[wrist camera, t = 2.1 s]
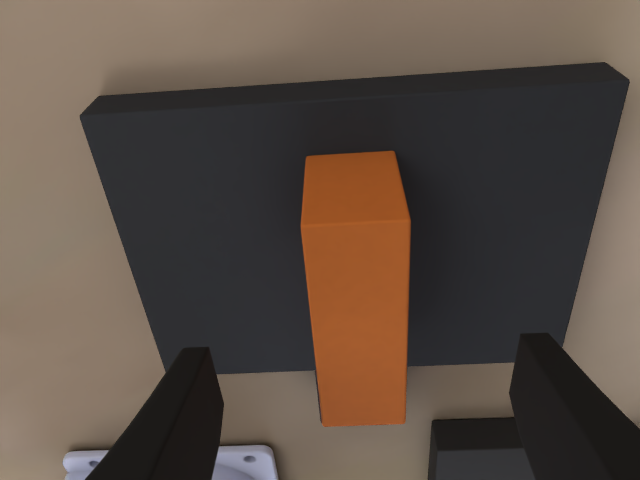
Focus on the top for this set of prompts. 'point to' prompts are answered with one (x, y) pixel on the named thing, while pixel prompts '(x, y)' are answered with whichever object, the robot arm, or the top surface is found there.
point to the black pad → (477, 450)
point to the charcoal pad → (454, 186)
